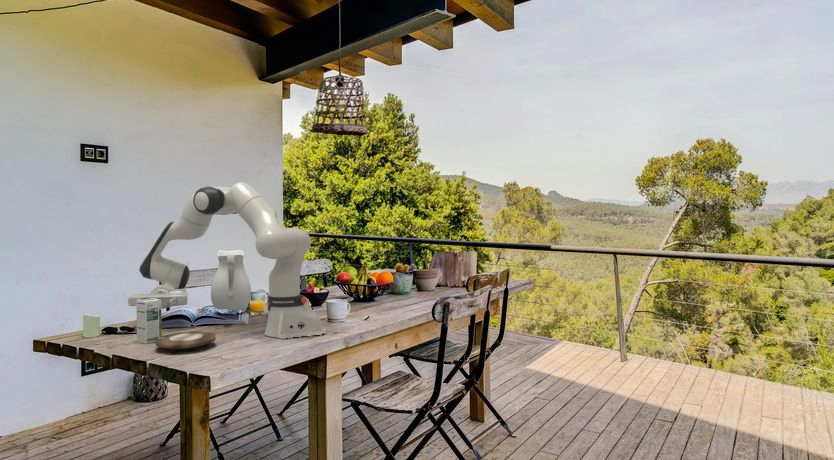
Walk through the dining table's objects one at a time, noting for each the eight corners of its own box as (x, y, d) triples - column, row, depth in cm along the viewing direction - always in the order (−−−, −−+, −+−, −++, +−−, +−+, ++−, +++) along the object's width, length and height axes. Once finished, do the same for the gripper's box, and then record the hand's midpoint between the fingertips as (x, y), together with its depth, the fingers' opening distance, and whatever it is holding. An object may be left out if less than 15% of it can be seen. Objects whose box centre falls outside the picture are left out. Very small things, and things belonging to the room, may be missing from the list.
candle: (95, 333, 184) (95, 311, 184) (102, 335, 181) (102, 313, 181) (80, 336, 180) (80, 313, 180) (87, 338, 177) (87, 315, 177)
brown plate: (219, 333, 177) (219, 329, 177) (210, 346, 160) (210, 342, 160) (163, 336, 173) (163, 332, 173) (148, 349, 156) (148, 345, 156)
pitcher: (212, 310, 231) (212, 249, 231) (251, 308, 236) (251, 249, 236) (207, 320, 209) (207, 253, 208) (250, 318, 214) (250, 252, 213)
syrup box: (145, 344, 170) (145, 301, 170) (136, 341, 173) (135, 299, 173) (162, 340, 175) (161, 299, 174) (152, 338, 178) (152, 297, 178)
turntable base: (205, 342, 172) (205, 337, 172) (199, 350, 163) (199, 345, 163) (173, 344, 170) (173, 339, 170) (165, 352, 160) (165, 346, 160)
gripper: (132, 289, 195) (123, 295, 182) (190, 288, 201) (185, 293, 188) (132, 305, 196) (123, 312, 182) (189, 304, 202) (184, 310, 188)
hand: (155, 303), depth 185 cm, fingers open, 8 cm apart
